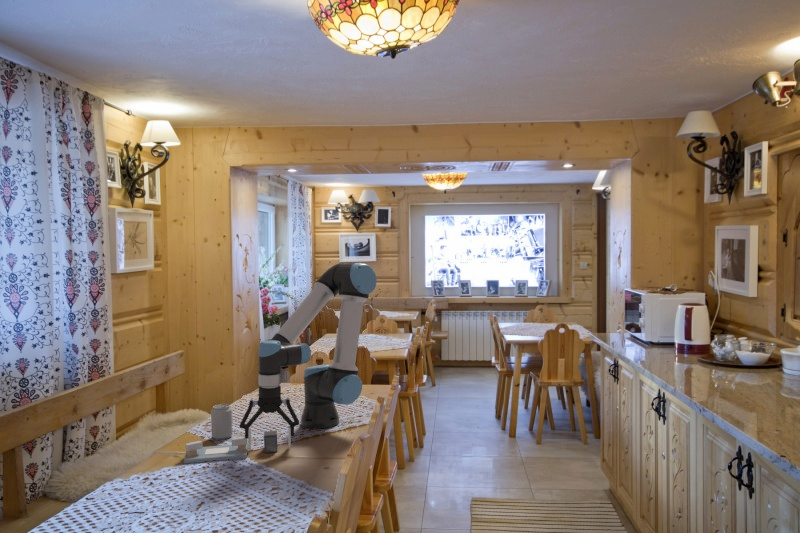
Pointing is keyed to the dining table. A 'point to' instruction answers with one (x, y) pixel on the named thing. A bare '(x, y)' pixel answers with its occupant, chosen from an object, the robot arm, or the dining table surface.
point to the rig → (216, 451)
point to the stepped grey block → (270, 441)
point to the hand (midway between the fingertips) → (269, 446)
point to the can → (221, 421)
